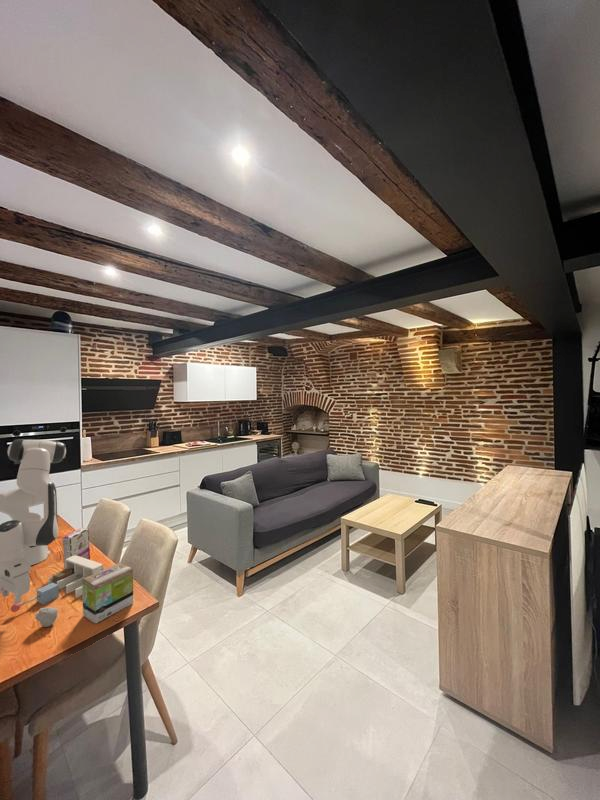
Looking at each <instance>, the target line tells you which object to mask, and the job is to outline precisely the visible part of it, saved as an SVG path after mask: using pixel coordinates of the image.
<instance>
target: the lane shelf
mask: <svg viewBox="0 0 600 800" xmlns="http://www.w3.org/2000/svg"><path fill="white" fill-rule="evenodd" d="M65 562H66V569H69V570H72V572H73V575H70V576H68V577H66V578H64V579H62V580H60V581H58V582H57V585H59V590H61V589H64V588H65V593H66V594H67V595H68V594H70V593H73V592H74V595H75V598H76V599H77V598H80V597H81V596H83V578H86V577H88V576H90V575H93V574H95V573H97V572H99V571H102V570H104V563H101V562H98V561H95V560H91V559H90V560H89V559H86V558H83V557H80V556H77V555H74V556H72V557H69V558H67V559H65ZM47 579H48V580H47V581H48V582H47V583H48V584H50V583H53V575H51V576H49V577H48V578H47ZM48 584H47V585H48Z"/></svg>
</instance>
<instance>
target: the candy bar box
mask: <svg viewBox="0 0 600 800" xmlns="http://www.w3.org/2000/svg"><path fill="white" fill-rule="evenodd" d="M89 535H90V533H89V528H84V527H82V528H78V529H77V530H75V531H73V532H70V533H68V534H67V535H65V536H62V546H63V547H62V549H63V550H62V551H63V568H64V569H63V570H65V569H66V562H65V559H67V558H69V557H72V556H74V555H77V556H80V557H83V558H86V559H89V560H91V553H90V536H89Z"/></svg>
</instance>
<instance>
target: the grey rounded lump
mask: <svg viewBox="0 0 600 800" xmlns="http://www.w3.org/2000/svg"><path fill="white" fill-rule="evenodd" d="M58 612H59V609H58V608H56V607H49V606H45V607H41V608H39V610H38V612H37V613H36V614H35V615H34V616H35V620H36V621H37V622H39V624H40V626H41V627H45V628H46V627H50V626H52V625H53V624H54V623H55V622H56V620H57V618H58Z"/></svg>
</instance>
